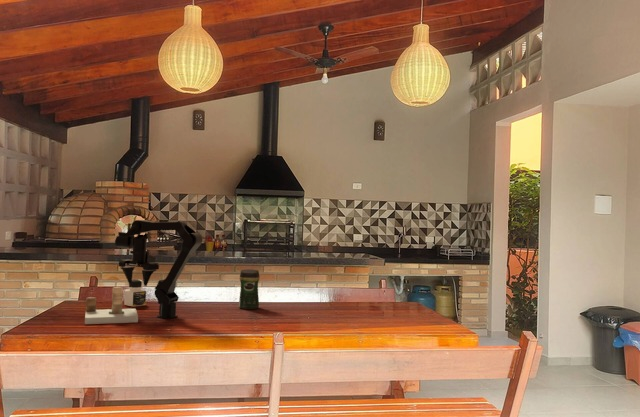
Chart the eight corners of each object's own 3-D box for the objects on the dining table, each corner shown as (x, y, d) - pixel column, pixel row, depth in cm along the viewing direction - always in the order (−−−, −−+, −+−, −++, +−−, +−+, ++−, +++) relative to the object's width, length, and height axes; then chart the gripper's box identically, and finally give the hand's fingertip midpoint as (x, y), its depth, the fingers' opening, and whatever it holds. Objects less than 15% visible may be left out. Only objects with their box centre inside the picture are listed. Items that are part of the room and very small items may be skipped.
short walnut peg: (98, 310, 236) (98, 297, 236) (90, 312, 232) (90, 299, 232) (91, 309, 238) (92, 296, 238) (83, 311, 234) (84, 298, 234)
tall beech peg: (123, 318, 234) (124, 287, 234) (115, 320, 231) (116, 288, 231) (118, 317, 236) (119, 286, 236) (109, 318, 233) (110, 287, 233)
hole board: (135, 314, 244) (135, 308, 244) (137, 322, 228) (138, 316, 228) (85, 315, 237) (85, 310, 237) (84, 324, 221) (85, 317, 221)
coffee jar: (258, 306, 274) (260, 268, 274) (258, 309, 266) (259, 270, 266) (238, 306, 273) (240, 268, 273) (238, 309, 265) (239, 270, 265)
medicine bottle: (132, 306, 261) (133, 281, 261) (123, 304, 266) (124, 279, 266) (145, 305, 267) (146, 280, 267) (136, 303, 271) (137, 278, 271)
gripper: (168, 249, 246) (167, 285, 246) (137, 246, 255) (136, 280, 255) (150, 250, 236) (148, 287, 236) (118, 247, 245) (116, 283, 245)
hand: (137, 284), depth 243 cm, fingers open, 9 cm apart
